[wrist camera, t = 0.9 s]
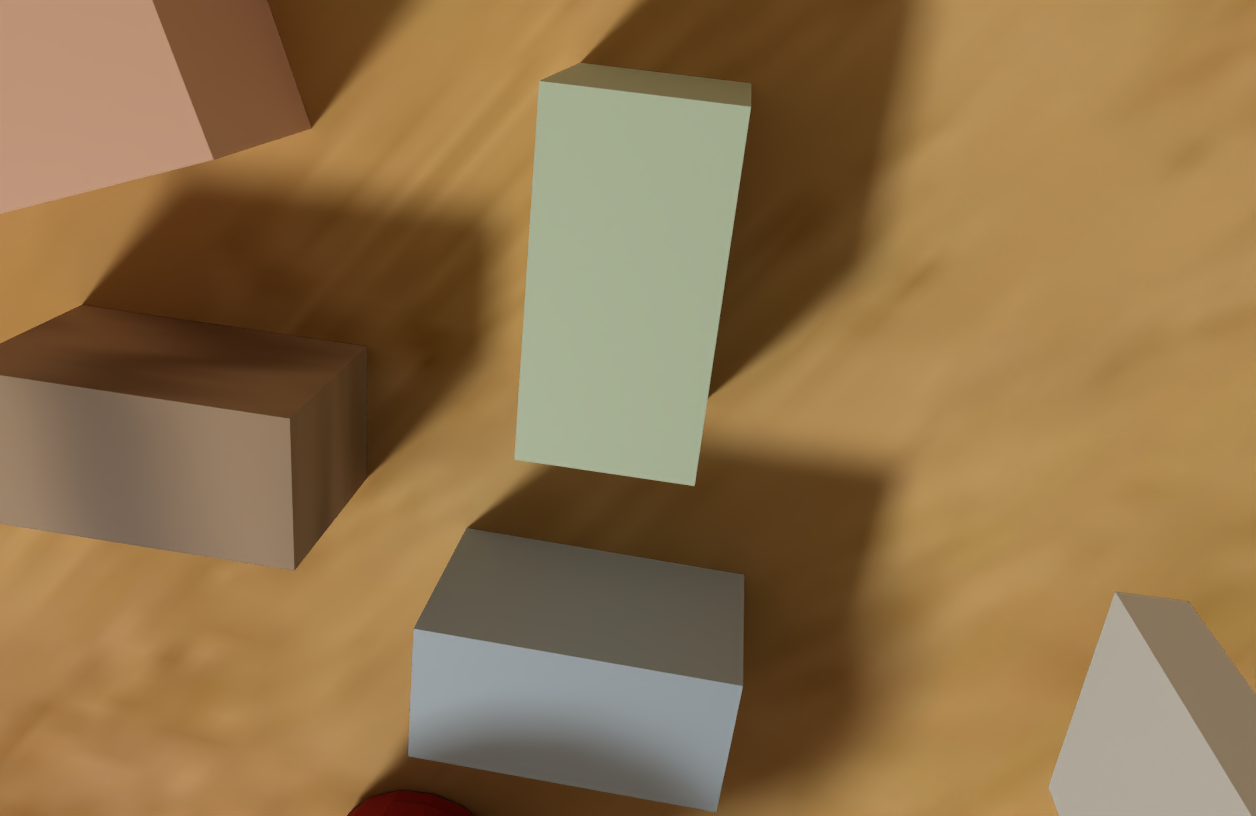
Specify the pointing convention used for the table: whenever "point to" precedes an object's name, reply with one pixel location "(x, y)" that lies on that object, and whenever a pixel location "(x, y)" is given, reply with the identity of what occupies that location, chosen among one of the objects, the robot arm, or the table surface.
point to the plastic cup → (408, 805)
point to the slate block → (580, 669)
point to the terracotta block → (134, 90)
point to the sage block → (627, 267)
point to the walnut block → (180, 434)
